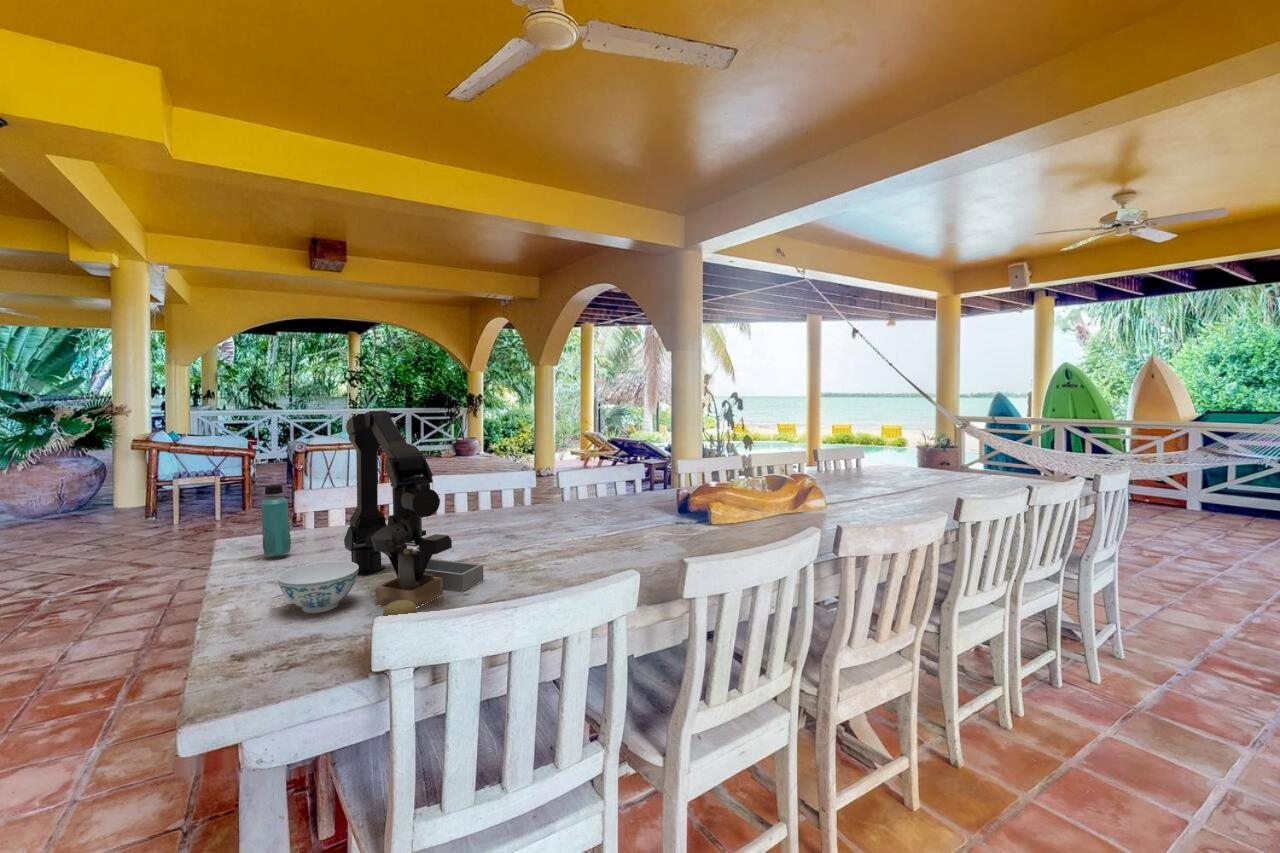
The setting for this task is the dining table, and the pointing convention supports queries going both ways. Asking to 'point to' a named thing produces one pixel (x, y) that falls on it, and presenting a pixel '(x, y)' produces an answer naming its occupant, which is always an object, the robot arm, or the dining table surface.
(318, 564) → the chinaware
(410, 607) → the cork
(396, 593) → the frame
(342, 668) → the dining table surface
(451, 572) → the trough
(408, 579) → the battery cell
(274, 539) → the beverage bottle
